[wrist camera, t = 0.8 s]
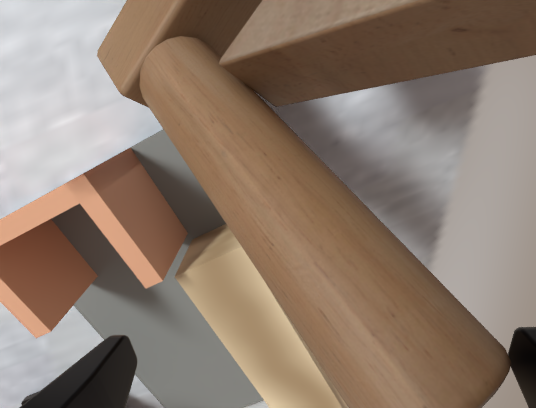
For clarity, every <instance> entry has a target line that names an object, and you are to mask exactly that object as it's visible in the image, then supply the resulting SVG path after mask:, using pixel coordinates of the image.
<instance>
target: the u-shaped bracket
mask: <svg viewBox="0 0 536 408" xmlns="http://www.w3.org/2000/svg"><path fill="white" fill-rule="evenodd" d="M79 203H80V204H81V206H82V207H83V208H84V209H85V211H86V212H87V213H88V215H89V216H90V217H91V219H92V220H93V221H94V222H95V224H96V225H97V226H98V228H99V229H100V230H101V231H102V233H103V234H104V235H105V237H106V238H107V239H108V240H109V242H110V243H111V244H112V246H113V247H114V248H115V250H116V251H117V252H118V253H119V255H120V256H121V257H122V259H123V260H124V261H125V262H126V264H127V265H128V266H129V268H130V269H131V270H132V271H133V273H134V274H135V275H136V277H137V278H138V279H139V280H140V282H141V283H142V284H143V286H144V287H145V288H148V287H151V286H153V285H155V284H157V283H160V282H162V281H163V280H164V278H165V276H166V274H167V272H168V270H169V268H170V267H171V265H172V263H173V261H174V259H175V257H176V255H177V253H178V251H179V249H180V248H181V246H182V244H183V242H184V240H185V238H186V236H187V234H188V233H187V231H186V230H185V228H184V227H183V225H182V224H181V222H180V221H179V219H178V218H177V216H176V215H175V213H174V212H173V210H172V209H171V207H170V206H169V204H168V203H167V201H166V200H165V198H164V197H163V195H162V194H161V192H160V191H159V189H158V188H157V186H156V185H155V183H154V182H153V180H152V179H151V177H150V176H149V174H148V173H147V171H146V170H145V168H144V167H143V165H142V164H141V162H140V161H139V160H138V158H137V157H136V155H135V154H134V152H133V151H132V149H131V148H129V149H127V150H125V151H123V152H122V153H120V154H118V155H116V156H114V157H112V158H111V159H109V160H107V161H105V162H103V163H102V164H100V165H98V166H96V167H94V168H93V169H91V170H89V171H87V172H85V173H83V174H82V175H80V176H78V177H76V178H74V179H73V180H71V181H69V182H67V183H65V184H64V185H62V186H60V187H58V188H56V189H55V190H53V191H51V192H49V193H47V194H46V195H44V196H42V197H40V198H38V199H37V200H35V201H33V202H31V203H29V204H27V205H26V206H24V207H22V208H20V209H18V210H17V211H15V212H13V213H11V214H9V215H8V216H6V217H4V218H2V219H0V302H1V303H2V304H3V305H4V306H5V307H6V308H7V309H8V310H9V311H10V312H11V313H12V314H13V315H14V316H15V317H16V318H17V319H18V320H19V321H20V322H21V323H22V324H23V325H24V326H25V327H26V328H27V329H28V330H29V331H30V332H31V333H32V334H33V335H34V336H35V337H36V338H38V337H40V336H42V335H44V334H47V333H49V332H51V331H52V330H53V328H54V327H55V326H56V325H57V324H58V323H59V321H60V320H61V319H62V318H63V317H64V315H65V314H66V313H67V312H68V311H69V310H70V308H71V307H72V306H73V305H74V304H75V303H76V301H77V300H78V299H79V298H80V297H81V295H82V294H83V293H84V292H85V291H86V290H87V288H88V287H89V286H90V285H91V284H92V283H93V281H94V280H95V279H96V278H97V277H98V276H97V274H96V273H95V272H94V271H93V269H92V268H91V267H90V266H89V265H88V263H87V262H86V261H85V260H84V259H83V257H82V256H81V255H80V254H79V252H78V251H77V250H76V249H75V248H74V246H73V245H72V244H71V243H70V242H69V240H68V239H67V238H66V237H65V235H64V234H63V233H62V232H61V231H60V229H59V228H58V227H57V226H56V225H55V223H54V222H53V221H52V220H51V218H53V217H55V216H57V215H59V214H61V213H63V212H64V211H66V210H68V209H70V208H72V207H74V206H76V205H78V204H79Z"/></svg>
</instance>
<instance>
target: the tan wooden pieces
mask: <svg viewBox="0 0 536 408" xmlns="http://www.w3.org/2000/svg"><path fill="white" fill-rule="evenodd" d="M532 55H536V0H127V1H126V3H125V5H124V6H123V8H122V10H121V12H120V13H119V15H118V17H117V18H116V20H115V22H114V24H113V25H112V27H111V29H110V30H109V32H108V34H107V36H106V37H105V39H104V41H103V42H102V44H101V46H100V48H99V49H98V54H97V56H98V58H99V60H100V61H101V63H102V65H103V66H104V68H105V69H106V71H107V73H108V74H109V76H110V78H111V79H112V81H113V83H114V84H115V86H116V88H117V89H118V91H119V92H120V93H121V94H122V95H123V96H125V97H127V98H129V99H131V100H134V101H136V102H138V103H140V104H142V105H145V106H147V107H149V108H150V109H151V111H152V112H153V114H154V115H155V117H156V118H157V120H158V121H159V123H160V124H161V126H162V127H163V129H164V131H165V132H166V134H167V135H168V137H169V138H170V140H171V141H172V143H173V144H174V146H175V147H176V149H177V150H178V152H179V153H180V155H181V156H182V158H183V159H184V161H185V162H186V164H187V165H188V167H189V168H190V170H191V171H192V173H193V174H194V176H195V177H196V179H197V180H198V182H199V183H200V185H201V186H202V188H203V189H204V191H205V192H206V194H207V195H208V197H209V198H210V200H211V201H212V203H213V204H214V206H215V207H216V209H217V210H218V212H219V213H220V215H221V216H222V218H223V219H224V221H225V222H226V224H227V225H228V227H229V228H230V230H231V231H232V233H233V234H234V236H235V237H236V239H237V240H238V242H239V243H240V245H241V247H242V248H243V250H244V251H245V253H246V254H247V256H248V257H249V259H250V260H251V262H252V263H253V265H254V266H255V268H256V269H257V271H258V272H259V274H260V275H261V277H262V278H263V280H264V281H265V283H266V284H267V286H268V287H269V289H270V290H271V292H272V293H273V295H274V296H275V298H276V299H277V301H278V302H279V304H280V305H281V307H282V308H283V310H284V311H285V313H286V314H287V316H288V317H289V319H290V320H291V322H292V323H293V325H294V326H295V328H296V329H297V331H298V332H299V334H300V335H301V337H302V338H303V340H304V341H305V343H306V344H307V346H308V347H309V349H310V350H311V352H312V353H313V355H314V356H315V358H316V359H317V361H318V362H319V364H320V366H321V367H322V369H323V370H324V372H325V373H326V375H327V376H328V378H329V379H330V381H331V382H332V384H333V385H334V387H335V388H336V390H337V391H338V393H339V394H340V396H341V397H342V399H343V400H344V402H345V403H346V405H347V406H348V408H482V407H483V406H484V405H485V403H486V402H488V400H489V399H490V398H491V397H492V396H493V395H494V394H495V393H496V391H497V390H498V388H499V387H500V386H501V384H502V383H503V381H504V380H505V378H506V376H507V374H508V372H509V370H510V366H511V361H510V358H509V356H508V354H507V352H506V350H505V348H504V347H503V346H502V345H501V344H500V343H499V342H498V341H497V340H496V339H495V338H494V337H493V336H492V335H491V334H490V333H489V332H488V331H487V330H486V329H485V328H484V326H483V325H482V324H481V323H479V322H478V320H477V319H476V318H475V317H474V316H473V315H472V314H471V313H470V312H469V311H468V310H467V309H466V308H465V307H464V306H463V305H462V304H461V303H460V302H459V301H458V300H457V299H456V298H455V297H454V296H453V295H452V294H451V293H450V292H449V291H448V290H447V289H446V288H445V286H443V284H441V283H440V281H439V280H438V279H437V278H436V277H435V276H434V275H433V274H432V273H431V272H430V271H429V270H428V269H427V268H426V267H425V266H424V265H423V264H422V263H421V262H420V261H419V260H418V259H417V258H416V257H415V256H414V255H413V254H412V253H411V252H410V251H409V250H408V249H407V248H406V247H405V245H404V244H403V243H402V242H401V241H400V240H399V239H398V238H397V237H396V236H395V235H394V234H393V233H392V232H391V231H390V230H389V229H388V228H387V227H386V226H385V225H384V224H383V223H382V222H381V221H380V220H379V219H378V218H377V217H376V216H375V215H374V214H373V213H372V212H371V211H370V210H369V209H368V208H367V207H366V206H365V204H364V203H363V202H362V201H361V200H360V199H359V198H358V197H357V196H356V195H355V194H354V193H353V192H352V191H351V190H350V189H349V188H348V187H347V186H346V185H345V184H344V183H343V182H342V181H341V180H340V179H339V178H338V177H337V176H336V175H335V174H334V173H333V172H332V171H331V170H330V169H329V168H328V167H327V166H326V164H325V163H324V162H323V161H322V160H321V159H320V158H319V157H318V156H317V155H316V154H315V153H314V152H313V151H312V150H311V149H310V148H309V147H308V146H307V145H306V144H305V143H304V142H303V141H302V140H301V139H300V138H299V137H298V136H297V135H296V134H295V133H294V132H293V131H292V130H291V129H290V128H289V127H288V126H287V125H286V123H285V122H284V121H283V120H282V119H281V118H280V117H279V116H278V115H277V114H276V113H275V112H274V111H273V110H272V109H271V108H270V107H269V106H268V105H267V104H266V103H265V102H264V101H263V100H262V99H261V98H260V97H259V96H258V95H257V94H256V93H258V94H259V95H261V96H262V97H263V98H265V99H266V100H267V101H269V102H270V103H271V104H273V105H274V106H276V107H277V106H283V105H288V104H293V103H298V102H303V101H308V100H313V99H318V98H323V97H328V96H333V95H338V94H343V93H348V92H353V91H358V90H363V89H368V88H373V87H378V86H383V85H388V84H393V83H398V82H403V81H408V80H413V79H418V78H423V77H428V76H433V75H438V74H443V73H448V72H453V71H458V70H463V69H468V68H473V67H478V66H483V65H488V64H493V63H497V62H503V61H508V60H513V59H518V58H522V57H528V56H532ZM253 90H254V91H255V92H256V93H255V92H254V91H253Z"/></svg>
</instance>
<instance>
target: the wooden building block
mask: <svg viewBox="0 0 536 408" xmlns="http://www.w3.org/2000/svg"><path fill="white" fill-rule="evenodd" d="M175 278H176V280H177V281H178V282H179V284H180V285H181V286H182V288H183V289H184V291H185V292H186V293H187V295H188V296H189V297H190V299H191V300H192V302H193V303H194V304H195V306H196V307H197V309H198V310H199V311H200V313H201V314H202V315H203V317H204V318H205V320H206V321H207V322H208V324H209V325H210V326H211V328H212V329H213V331H214V332H215V333H216V335H217V336H218V337H219V339H220V340H221V342H222V343H223V344H224V346H225V347H226V348H227V350H228V351H229V353H230V354H231V355H232V357H233V358H234V359H235V361H236V362H237V364H238V365H239V366H240V368H241V369H242V371H243V372H244V373H245V375H246V376H247V377H248V379H249V380H250V382H251V383H252V384H253V386H254V387H255V388H256V390H257V391H258V393H259V394H260V395H261V397H262V398H263V399H264V401H265V402H266V404H267V405H268V406H269V408H348V407H347V405H346V403H345V402H344V400H343V399H342V397H341V396H340V394H339V393H338V391H337V390H336V388H335V387H334V385H333V384H332V382H331V381H330V379H329V378H328V376H327V375H326V373H325V372H324V370H323V369H322V367H321V366H320V364H319V362H318V361H317V359H316V358H315V356H314V355H313V353H312V352H311V350H310V349H309V347H308V346H307V344H306V343H305V341H304V340H303V338H302V337H301V335H300V334H299V332H298V331H297V329H296V328H295V326H294V325H293V323H292V322H291V320H290V319H289V317H288V316H287V314H286V313H285V311H284V310H283V308H282V307H281V305H280V304H279V302H278V301H277V299H276V298H275V296H274V295H273V293H272V292H271V290H270V289H269V287H268V286H267V284H266V283H265V281H264V280H263V278H262V277H261V275H260V274H259V272H258V271H257V269H256V268H255V266H254V265H253V263H252V262H251V260H250V259H249V257H248V256H247V254H246V253H245V251H244V250H243V248H242V247H241V245H240V243H239V242H238V240H237V239H236V237H235V236H234V234H233V233H232V231H231V230H230V228H229V227H228V225H227V224H225V225H222V226H220V227H218V228H216V229H214V230H212V231H210V232H208V233H205V234H203V235H201V236H199V237H197V238H195V239H193V240H192V241H191V243H190V245H189V248H188V250H187V252H186V254H185V256H184V258H183V260H182V262H181V264H180V266H179V268H178V270H177V273H176V275H175Z"/></svg>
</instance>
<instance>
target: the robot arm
mask: <svg viewBox="0 0 536 408" xmlns="http://www.w3.org/2000/svg"><path fill="white" fill-rule="evenodd" d="M508 356H509V358H510V361H511V368H512V370H513V373H514V375H515V377H516V380H517V382H518V384H519V386H520V389H521V391H522V393H523V395H524V398H525V400H526V402H527V405H528V407H529V408H536V327H519V328H517V329H516V330H515V331H514V334H513V338H512V342H511V345H510V349H509V352H508ZM136 368H137V356H136V353H135V351H134V349H133V346H132V344H131V341H130V339H129V337H128V336H126V335H112V336H109V337H108V338H106V339H105V340H104V341H103V342H101V343H100V344H99V345H98V346H96V347H95V348H94V349H93V350H91V351H90V352H89V353H88V354H86V355H85V356H84V357H83V358H81V359H80V360H79V361H78V362H76V363H75V364H74V365H72V366H71V367H70V368H69V369H67V370H66V371H65V372H64V373H62V374H61V375H60V376H59V377H57V378H56V379H55V380H54V381H52V382H51V383H50V384H49V385H47V386H46V387H45V388H44V389H42V390H41V391H39V392H37V393H34V394H32V395H29V396H27V397H26V398H25V399H24V400H23V401H22V403H21V404H22V406H21V407H20V408H125V406H126V402H127V399H128V395H129V392H130V389H131V385H132V382H133V378H134V375H135V371H136Z"/></svg>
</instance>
